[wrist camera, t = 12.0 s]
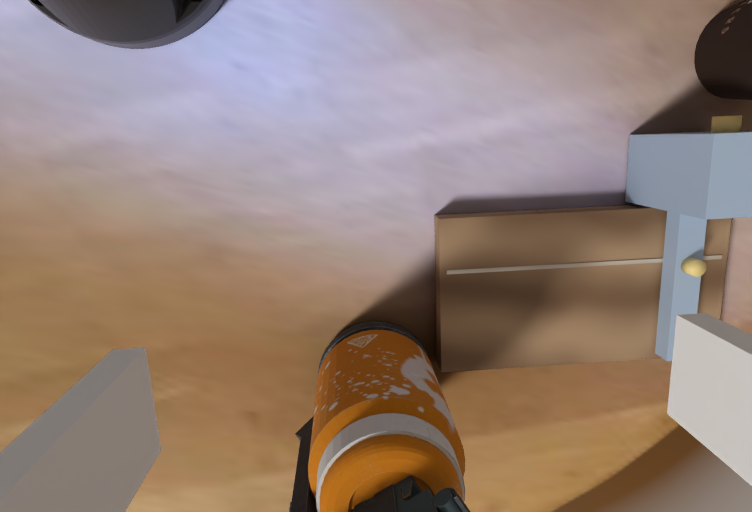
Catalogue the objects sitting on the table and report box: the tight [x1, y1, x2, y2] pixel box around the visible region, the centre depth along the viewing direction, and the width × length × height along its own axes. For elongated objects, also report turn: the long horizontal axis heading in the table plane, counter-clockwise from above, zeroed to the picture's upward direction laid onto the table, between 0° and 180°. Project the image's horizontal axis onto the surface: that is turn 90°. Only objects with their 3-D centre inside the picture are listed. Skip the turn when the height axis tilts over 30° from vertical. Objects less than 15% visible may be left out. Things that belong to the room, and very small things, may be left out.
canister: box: [289, 322, 470, 512], centre depth 32 cm, size 9×11×20 cm
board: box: [435, 205, 732, 373], centre depth 40 cm, size 12×22×2 cm, turn 92°
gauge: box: [625, 115, 752, 361], centre depth 36 cm, size 18×6×9 cm, turn 2°
